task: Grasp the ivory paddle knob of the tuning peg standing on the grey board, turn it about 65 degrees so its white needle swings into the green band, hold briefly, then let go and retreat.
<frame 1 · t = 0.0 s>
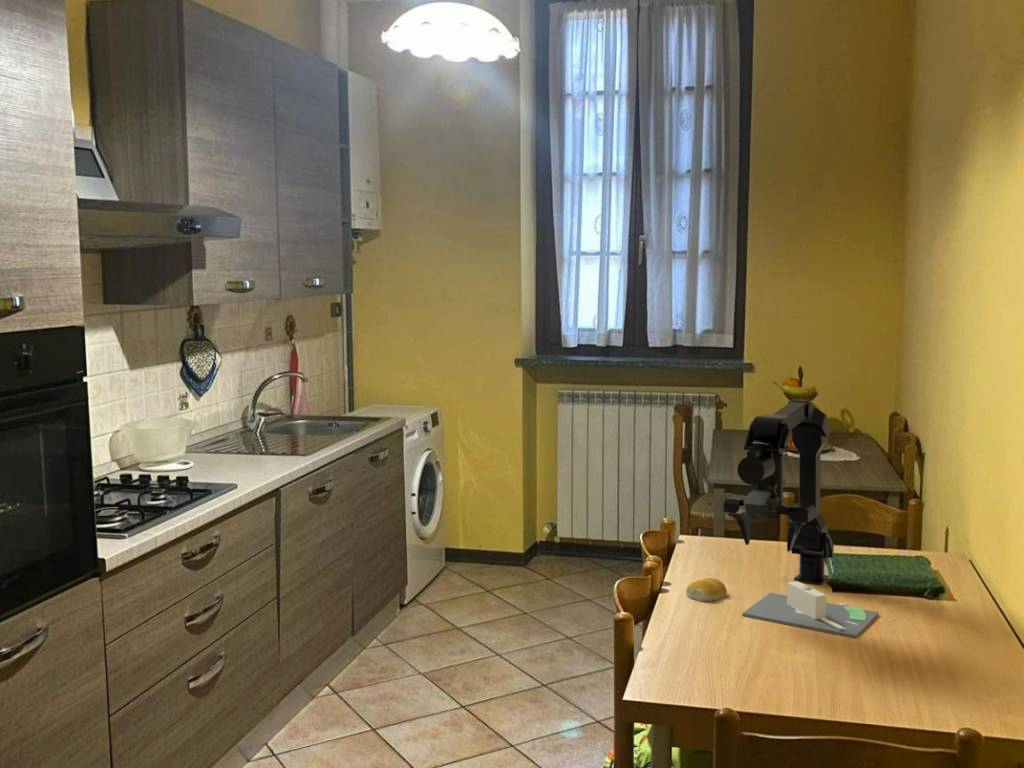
hand: (768, 547, 215), 15 cm above the table, fingers open, 9 cm apart
grey board: (805, 614, 217), on the table
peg: (816, 604, 213), point 3 cm above the table, hinge at -35.0°
bread roll: (706, 597, 230), on the table
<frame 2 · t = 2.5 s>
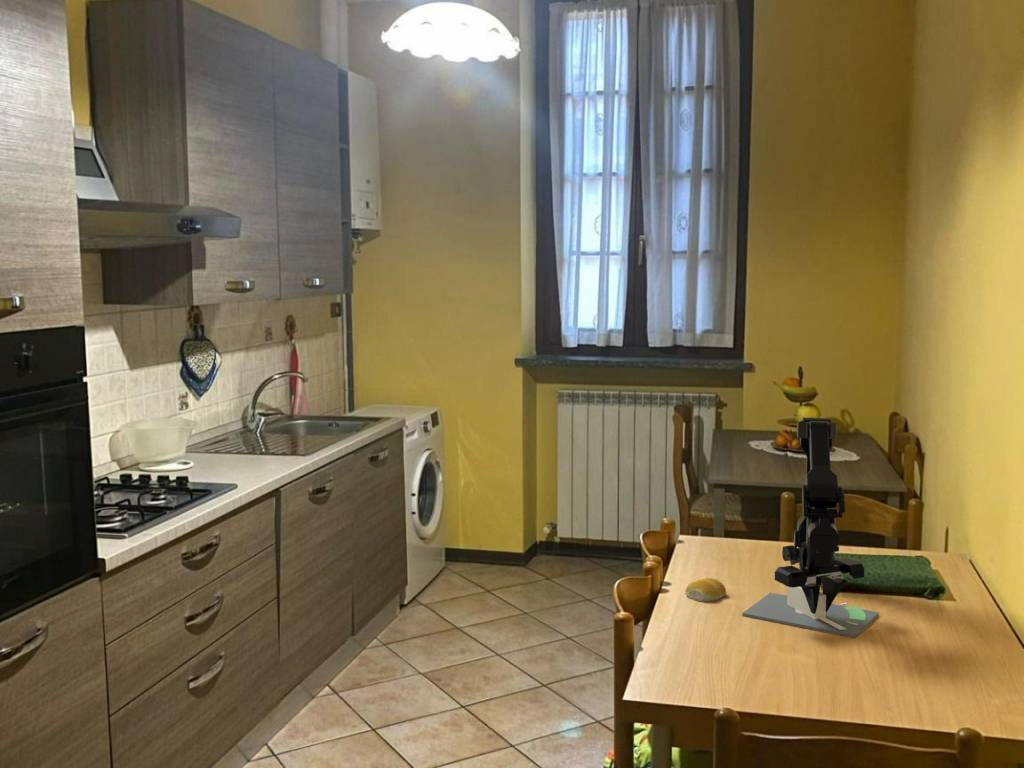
hand: (819, 612, 212), 2 cm above the table, fingers closed on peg, 3 cm apart
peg: (816, 604, 213), point 3 cm above the table, hinge at -35.0°, touching gripper
everything else where it was.
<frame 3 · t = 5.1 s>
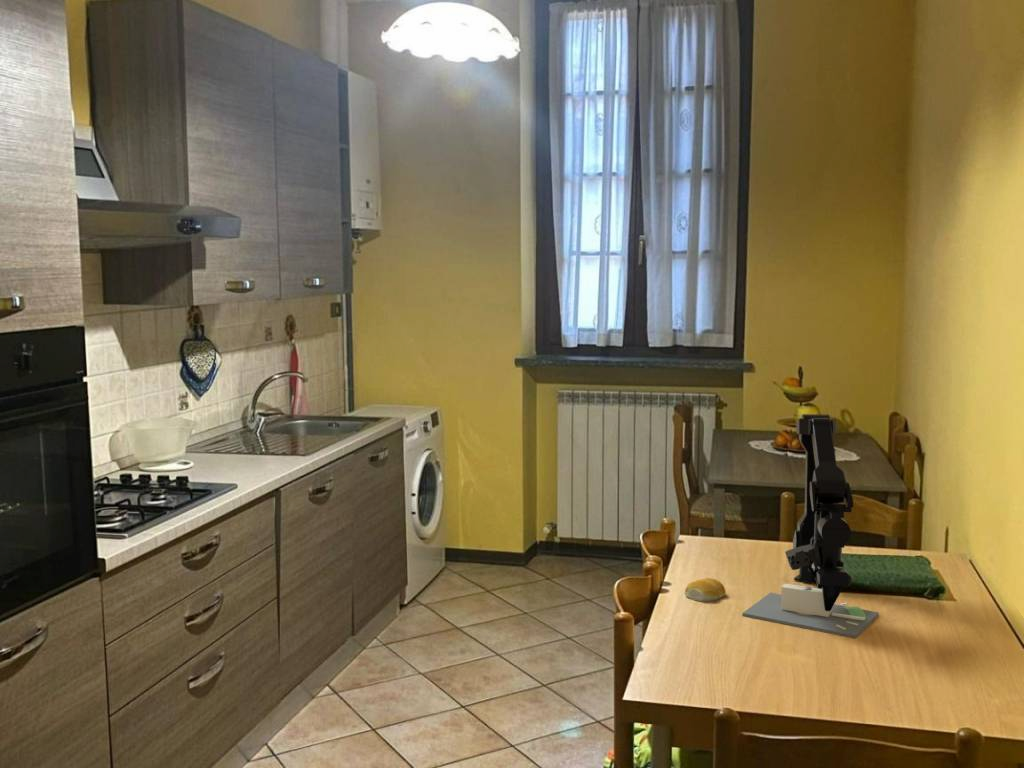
hand: (825, 607, 215), 2 cm above the table, fingers open, 4 cm apart
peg: (822, 602, 215), point 3 cm above the table, hinge at 5.3°, touching gripper
everything else where it was.
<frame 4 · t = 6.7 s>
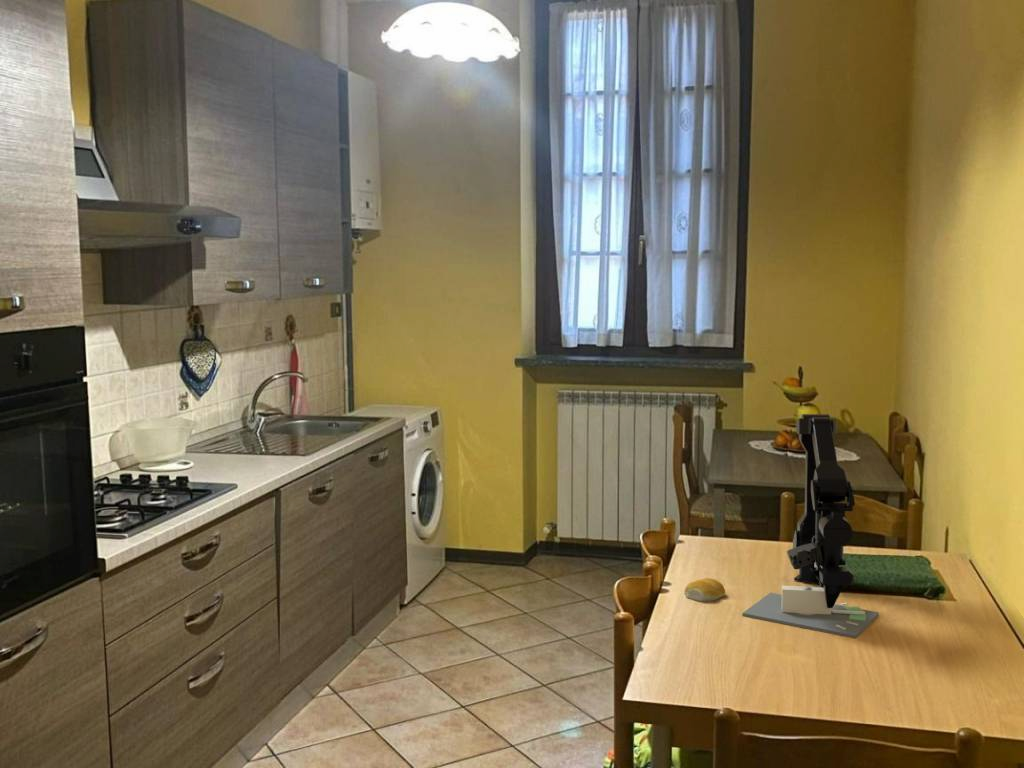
hand: (828, 605, 216), 2 cm above the table, fingers closed on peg, 3 cm apart
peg: (823, 600, 216), point 3 cm above the table, hinge at 24.1°, touching gripper
everything else where it was.
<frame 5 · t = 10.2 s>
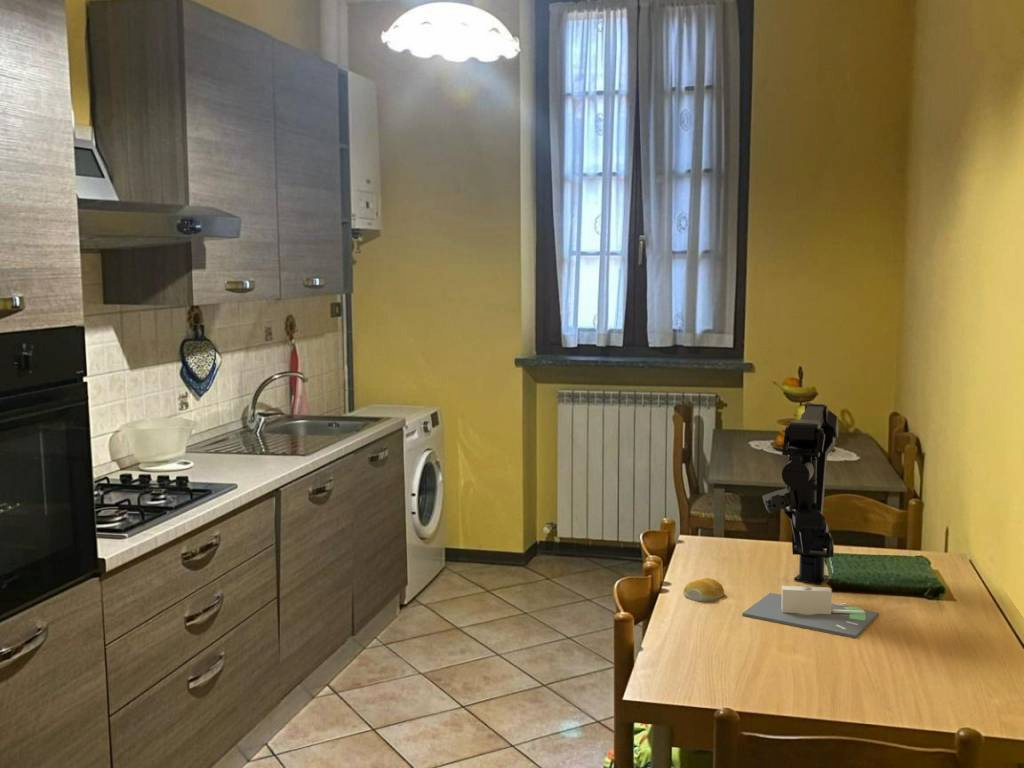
hand: (801, 548, 224), 12 cm above the table, fingers open, 9 cm apart
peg: (823, 600, 216), point 3 cm above the table, hinge at 26.1°
everything else where it was.
at the end: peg at +26° (first picture: -35°); the gripper is holding nothing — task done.
